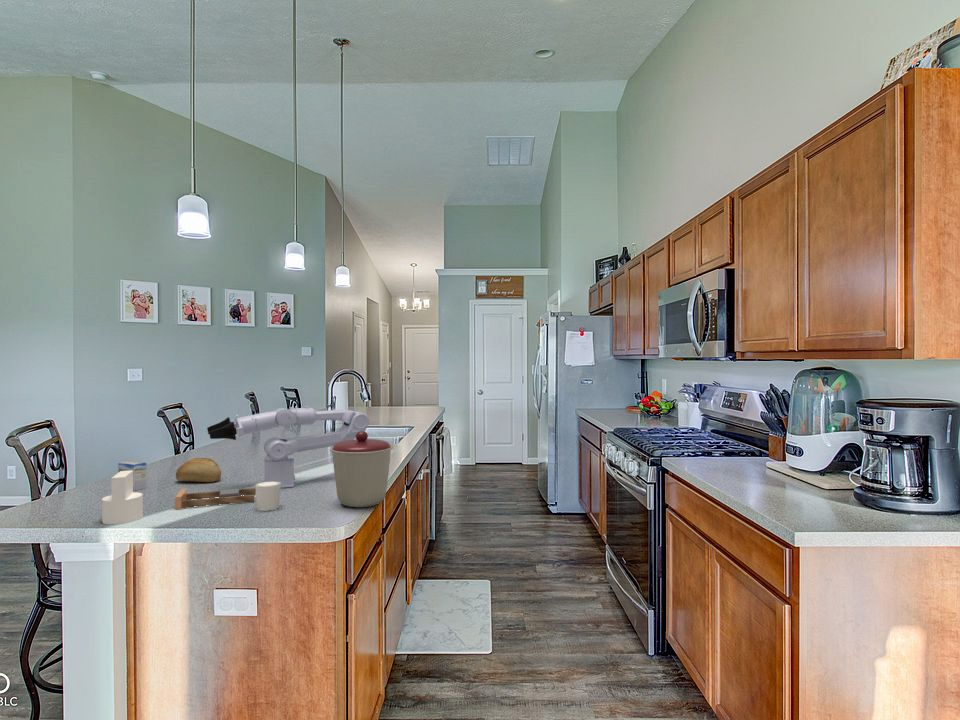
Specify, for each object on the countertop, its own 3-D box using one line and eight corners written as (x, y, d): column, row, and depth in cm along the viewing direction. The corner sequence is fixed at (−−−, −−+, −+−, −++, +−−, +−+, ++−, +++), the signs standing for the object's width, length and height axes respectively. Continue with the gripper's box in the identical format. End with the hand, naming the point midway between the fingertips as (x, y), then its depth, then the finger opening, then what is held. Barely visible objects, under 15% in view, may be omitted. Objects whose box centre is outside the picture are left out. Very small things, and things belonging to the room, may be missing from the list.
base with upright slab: (107, 516, 146) (107, 472, 146) (146, 512, 149) (146, 469, 149) (97, 526, 137) (97, 479, 137) (138, 522, 141) (138, 476, 140)
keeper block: (239, 498, 165) (239, 488, 165) (238, 503, 159) (238, 493, 159) (221, 499, 163) (221, 489, 163) (219, 504, 158) (219, 494, 158)
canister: (380, 513, 147) (379, 436, 147) (318, 510, 151) (318, 435, 151) (401, 496, 165) (401, 427, 165) (346, 493, 168) (345, 426, 168)
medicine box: (117, 489, 175) (117, 462, 175) (130, 486, 179) (130, 460, 179) (133, 491, 172) (133, 464, 172) (147, 488, 176) (146, 462, 176)
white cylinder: (256, 513, 148) (256, 487, 148) (254, 506, 154) (254, 482, 154) (282, 509, 151) (282, 484, 151) (279, 503, 158) (279, 479, 157)
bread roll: (184, 478, 191) (184, 456, 191) (227, 478, 191) (227, 455, 191) (169, 485, 181) (169, 461, 181) (214, 484, 181) (214, 461, 181)
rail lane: (255, 493, 169) (255, 482, 169) (254, 502, 159) (254, 490, 159) (181, 500, 161) (181, 488, 161) (175, 509, 152) (175, 497, 152)
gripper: (249, 408, 181) (204, 417, 174) (256, 414, 169) (208, 424, 162) (252, 428, 182) (208, 438, 175) (259, 436, 170) (212, 447, 163)
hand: (208, 433), depth 169 cm, fingers open, 7 cm apart
